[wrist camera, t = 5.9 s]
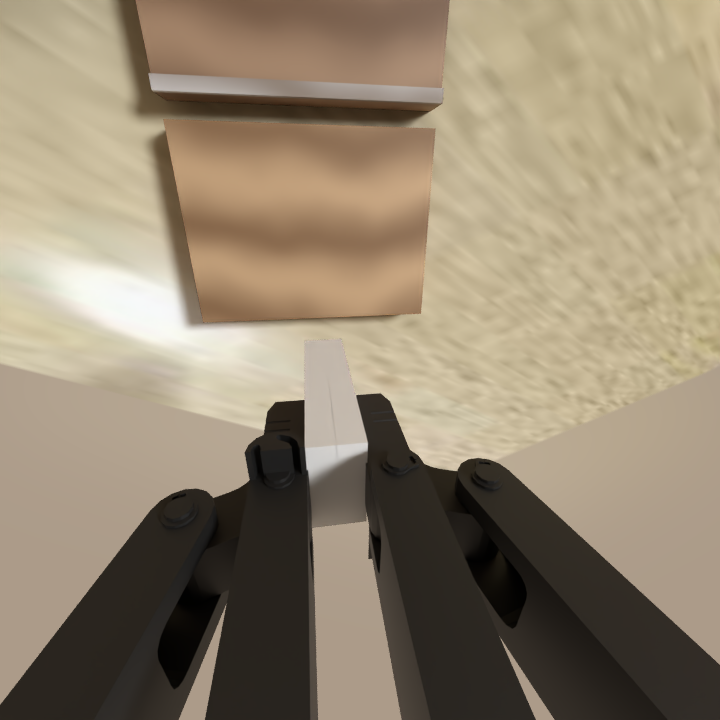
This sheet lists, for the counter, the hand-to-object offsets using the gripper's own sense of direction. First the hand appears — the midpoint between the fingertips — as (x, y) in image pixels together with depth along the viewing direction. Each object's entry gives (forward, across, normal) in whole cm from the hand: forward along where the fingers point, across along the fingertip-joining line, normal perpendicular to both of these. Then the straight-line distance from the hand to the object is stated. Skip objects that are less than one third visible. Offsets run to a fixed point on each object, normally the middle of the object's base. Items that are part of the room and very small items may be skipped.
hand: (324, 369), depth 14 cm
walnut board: (+16, 0, +17) cm, 24 cm away
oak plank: (+16, 0, +4) cm, 17 cm away
